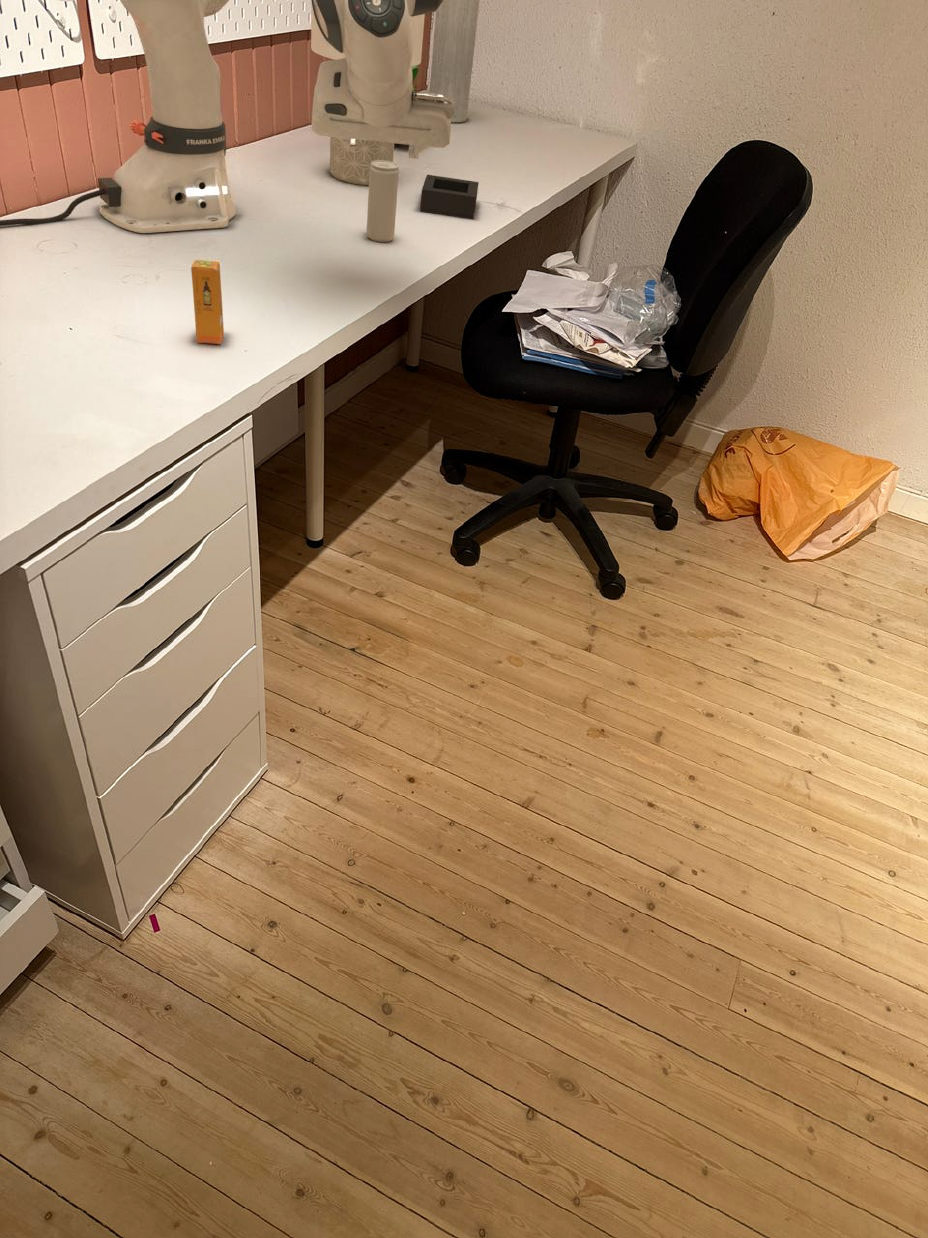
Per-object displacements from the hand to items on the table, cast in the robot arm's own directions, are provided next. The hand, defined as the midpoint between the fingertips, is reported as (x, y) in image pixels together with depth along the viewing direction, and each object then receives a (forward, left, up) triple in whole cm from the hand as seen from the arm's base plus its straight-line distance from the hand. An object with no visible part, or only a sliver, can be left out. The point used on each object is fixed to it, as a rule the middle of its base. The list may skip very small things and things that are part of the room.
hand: (382, 150), depth 141 cm
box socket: (+32, +17, -17) cm, 40 cm away
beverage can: (+8, +9, -17) cm, 21 cm away
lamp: (+28, +39, -17) cm, 51 cm away
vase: (+82, +71, -17) cm, 110 cm away
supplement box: (-39, -12, -17) cm, 44 cm away
